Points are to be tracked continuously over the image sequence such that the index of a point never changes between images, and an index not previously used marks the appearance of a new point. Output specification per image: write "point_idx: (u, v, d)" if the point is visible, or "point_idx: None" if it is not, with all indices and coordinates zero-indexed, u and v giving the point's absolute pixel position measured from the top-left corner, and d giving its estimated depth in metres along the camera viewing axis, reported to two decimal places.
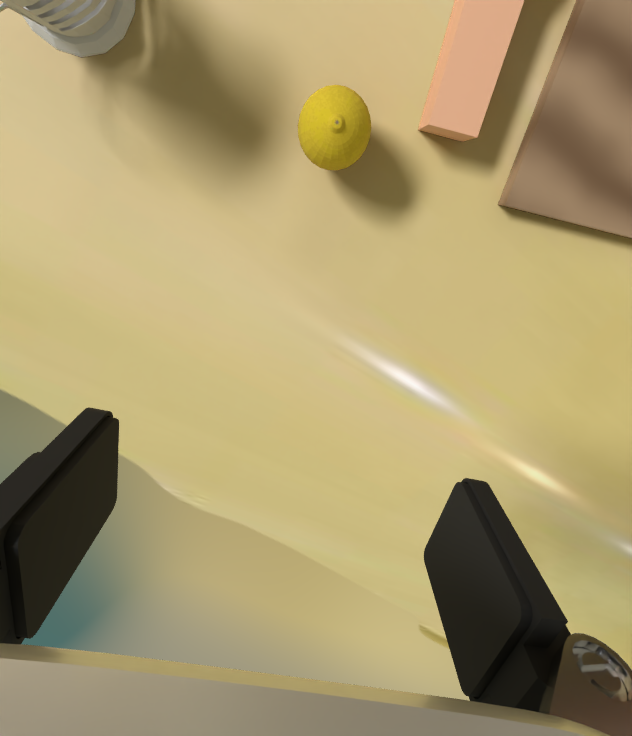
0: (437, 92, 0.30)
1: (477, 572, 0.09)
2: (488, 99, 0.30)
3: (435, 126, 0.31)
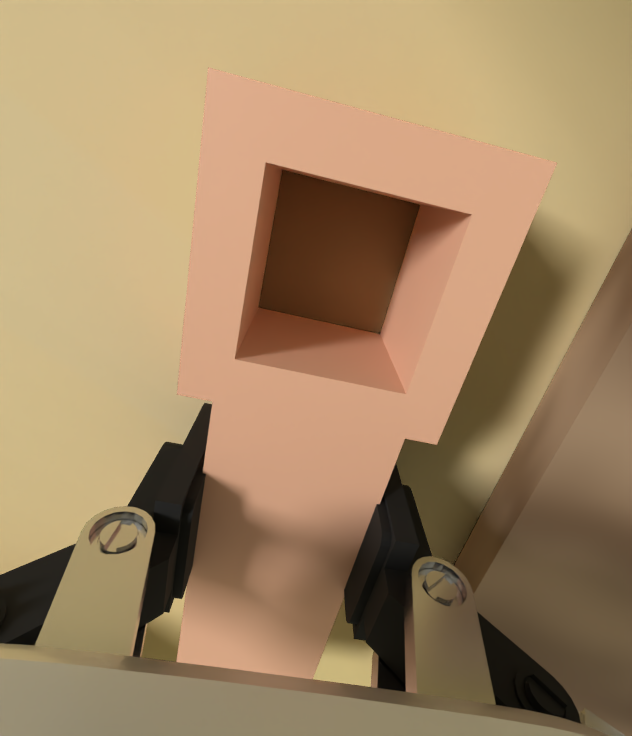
0: None
1: None
2: None
3: None
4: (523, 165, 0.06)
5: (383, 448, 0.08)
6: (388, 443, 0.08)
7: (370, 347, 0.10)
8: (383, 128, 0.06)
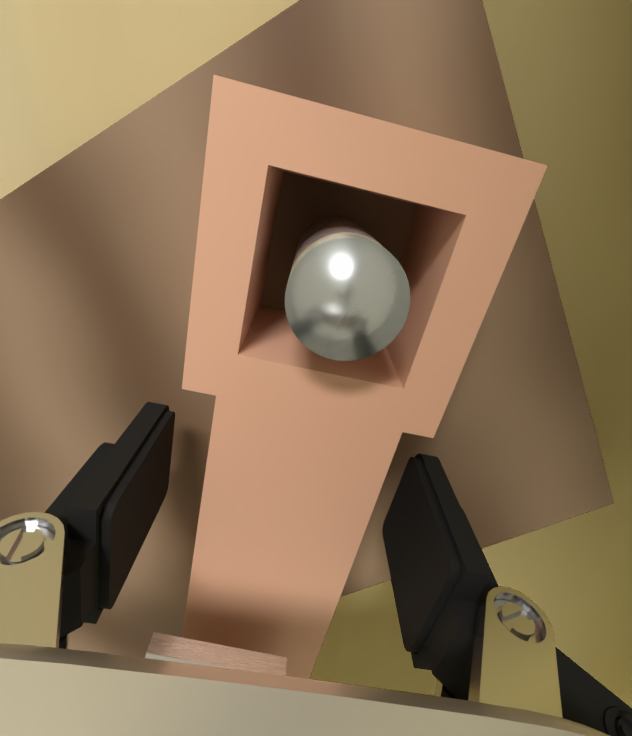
0: None
1: (420, 537, 0.10)
2: (307, 669, 0.12)
3: None
4: (515, 168, 0.07)
5: (381, 441, 0.09)
6: (386, 436, 0.09)
7: None
8: (381, 132, 0.06)
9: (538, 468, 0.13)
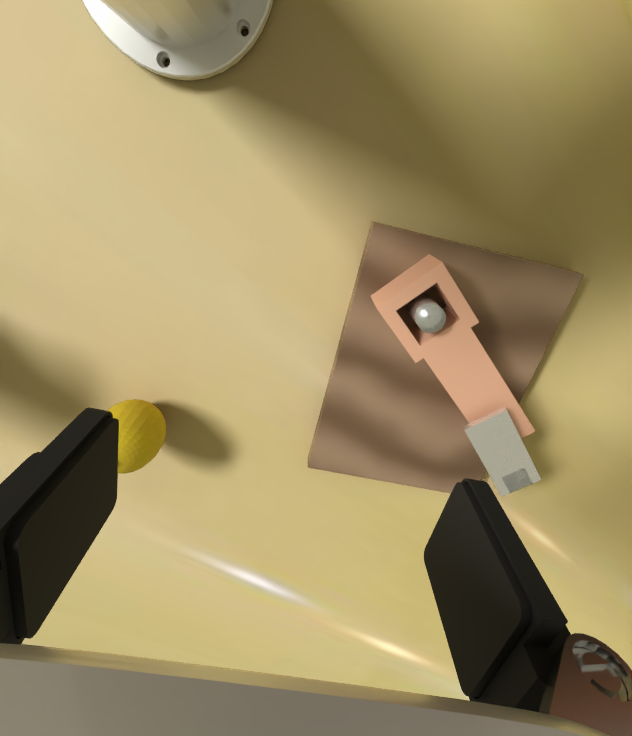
0: None
1: (477, 572, 0.09)
2: (520, 411, 0.32)
3: None
4: (437, 268, 0.28)
5: (468, 333, 0.30)
6: (468, 331, 0.30)
7: (446, 313, 0.31)
8: (409, 287, 0.28)
9: (540, 291, 0.32)
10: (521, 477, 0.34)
